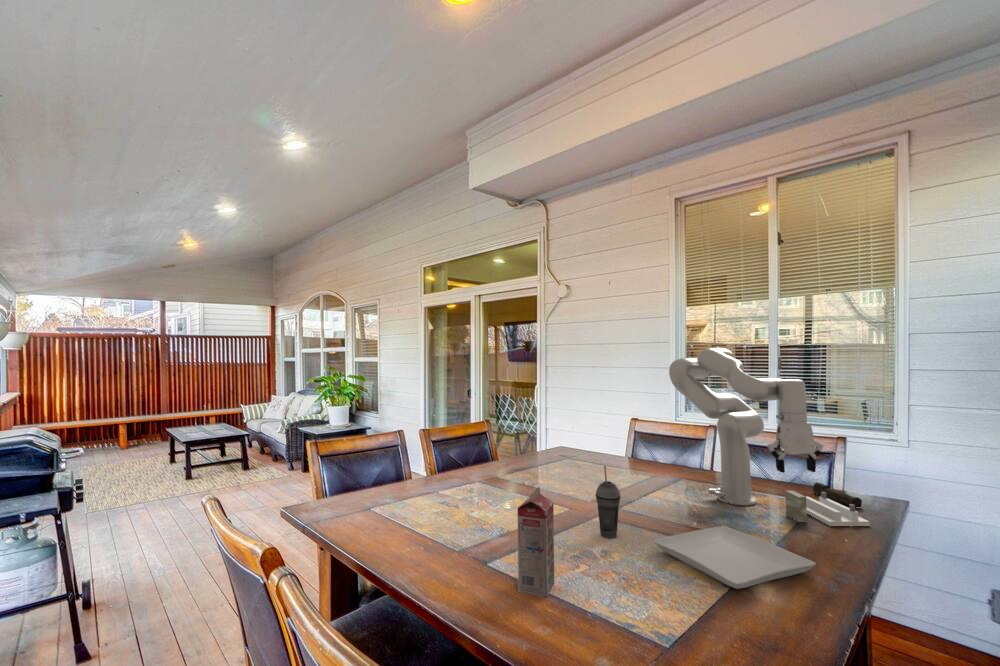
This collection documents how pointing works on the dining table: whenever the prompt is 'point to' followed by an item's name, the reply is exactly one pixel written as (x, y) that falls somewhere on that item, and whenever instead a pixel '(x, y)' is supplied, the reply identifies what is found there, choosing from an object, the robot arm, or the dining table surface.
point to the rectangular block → (796, 506)
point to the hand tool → (836, 495)
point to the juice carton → (536, 545)
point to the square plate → (733, 556)
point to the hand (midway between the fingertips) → (796, 471)
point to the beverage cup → (608, 508)
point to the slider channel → (834, 512)
